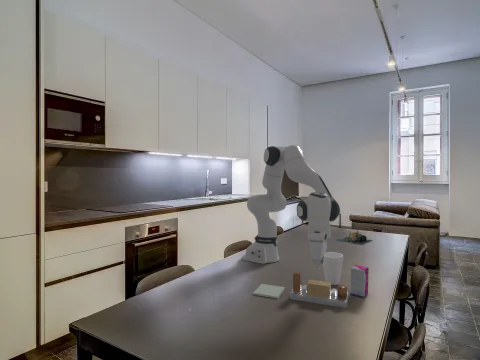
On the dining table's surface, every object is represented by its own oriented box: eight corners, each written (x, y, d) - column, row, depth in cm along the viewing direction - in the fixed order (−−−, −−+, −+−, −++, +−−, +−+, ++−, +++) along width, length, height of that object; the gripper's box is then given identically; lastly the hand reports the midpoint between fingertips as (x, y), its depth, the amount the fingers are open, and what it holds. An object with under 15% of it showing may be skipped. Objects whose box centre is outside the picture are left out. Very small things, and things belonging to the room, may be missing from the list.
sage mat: (252, 294, 127) (252, 292, 127) (261, 285, 137) (261, 283, 137) (278, 298, 122) (278, 296, 122) (284, 289, 132) (284, 287, 132)
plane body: (289, 299, 122) (289, 275, 122) (295, 290, 131) (295, 268, 131) (346, 308, 113) (346, 283, 113) (348, 298, 122) (348, 275, 122)
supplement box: (364, 298, 122) (364, 270, 122) (349, 294, 126) (349, 267, 126) (368, 293, 126) (368, 266, 126) (354, 290, 130) (354, 264, 130)
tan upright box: (306, 293, 121) (306, 283, 121) (309, 288, 126) (309, 279, 126) (329, 296, 118) (329, 286, 118) (331, 291, 122) (331, 282, 122)
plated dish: (347, 234, 251) (347, 225, 251) (382, 239, 232) (382, 230, 232) (327, 242, 226) (327, 232, 225) (365, 248, 206) (365, 238, 206)
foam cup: (336, 277, 146) (336, 251, 145) (347, 284, 137) (347, 256, 136) (318, 279, 144) (318, 252, 143) (328, 286, 135) (328, 258, 134)
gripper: (315, 227, 132) (315, 258, 132) (306, 236, 113) (307, 272, 114) (330, 228, 130) (330, 260, 130) (323, 237, 111) (324, 274, 111)
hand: (319, 266), depth 121 cm, fingers open, 8 cm apart
